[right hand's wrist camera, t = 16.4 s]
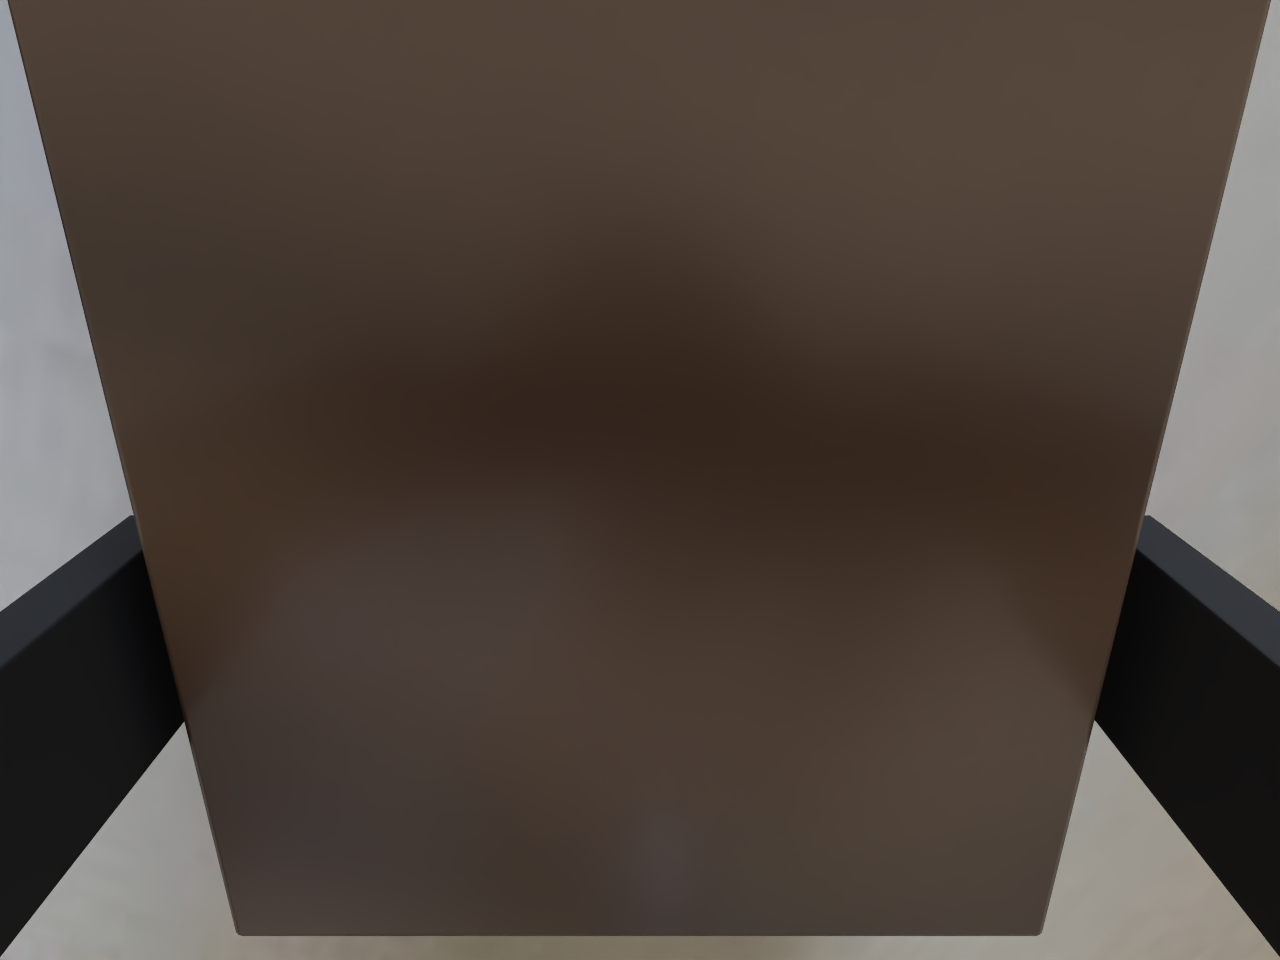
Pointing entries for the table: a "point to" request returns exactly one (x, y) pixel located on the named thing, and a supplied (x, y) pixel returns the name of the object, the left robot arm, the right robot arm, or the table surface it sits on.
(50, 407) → the table surface
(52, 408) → the table surface
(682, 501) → the cabinet
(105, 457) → the table surface
